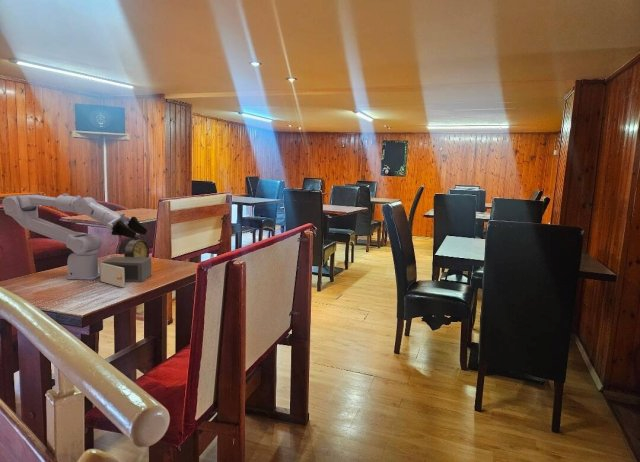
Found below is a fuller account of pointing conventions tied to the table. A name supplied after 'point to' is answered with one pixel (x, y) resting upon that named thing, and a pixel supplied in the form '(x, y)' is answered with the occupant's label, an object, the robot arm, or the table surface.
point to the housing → (132, 267)
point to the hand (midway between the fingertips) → (140, 234)
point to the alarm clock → (136, 249)
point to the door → (112, 274)
